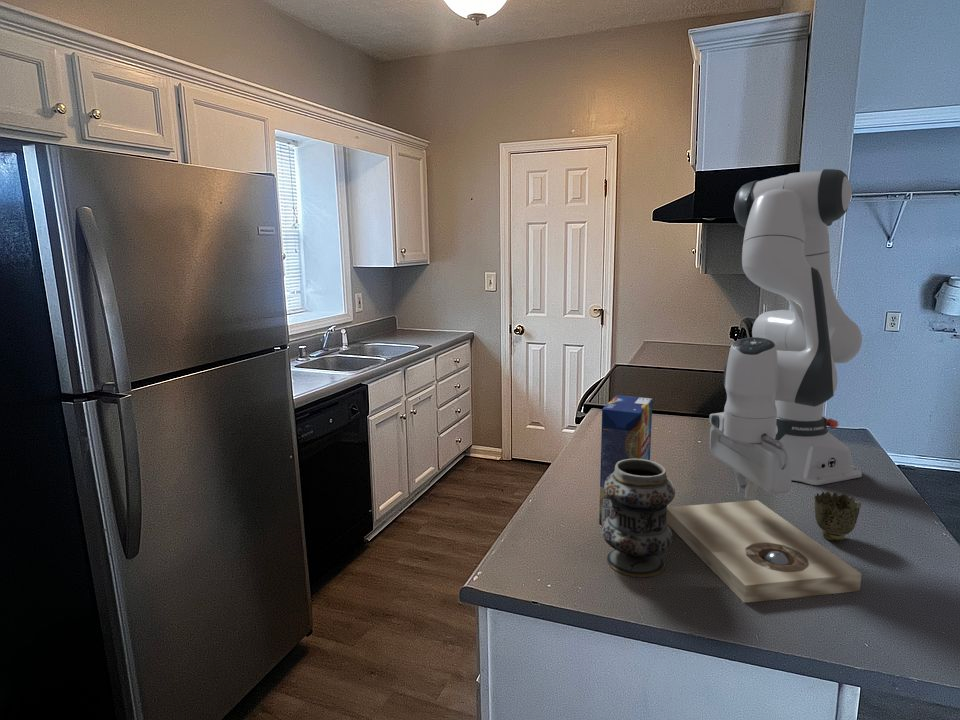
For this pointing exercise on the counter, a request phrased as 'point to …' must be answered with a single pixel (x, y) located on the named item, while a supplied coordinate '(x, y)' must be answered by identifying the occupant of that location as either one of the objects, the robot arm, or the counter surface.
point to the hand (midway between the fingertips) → (746, 496)
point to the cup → (836, 515)
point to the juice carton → (623, 438)
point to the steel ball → (777, 558)
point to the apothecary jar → (638, 517)
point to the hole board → (760, 551)
